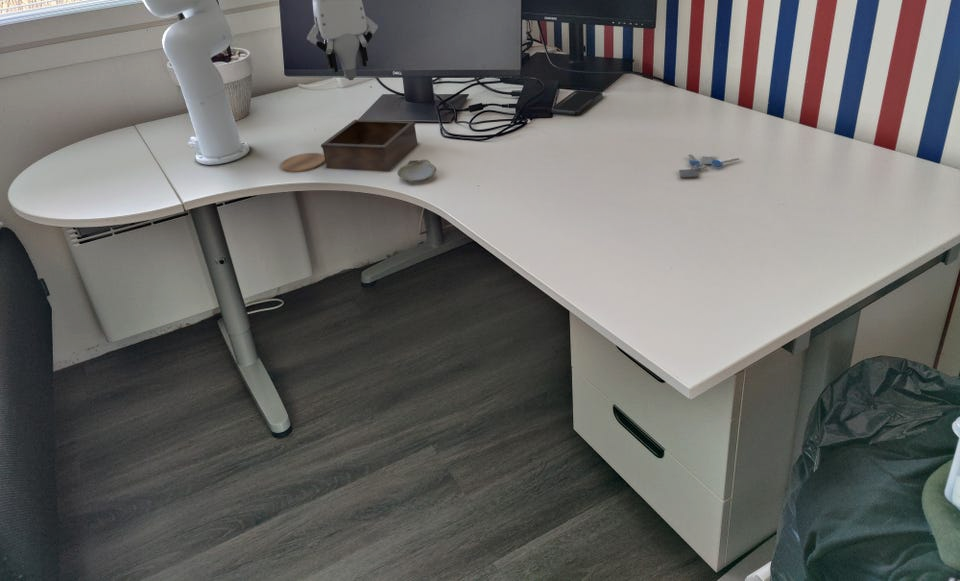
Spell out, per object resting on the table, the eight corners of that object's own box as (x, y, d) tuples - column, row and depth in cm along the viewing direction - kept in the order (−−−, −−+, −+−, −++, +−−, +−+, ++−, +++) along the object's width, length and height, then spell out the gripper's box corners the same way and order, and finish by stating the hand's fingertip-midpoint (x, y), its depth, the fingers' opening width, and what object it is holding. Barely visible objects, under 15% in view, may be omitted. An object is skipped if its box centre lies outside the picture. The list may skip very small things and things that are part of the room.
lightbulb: (368, 80, 159) (359, 28, 153) (340, 86, 157) (330, 33, 151) (361, 74, 164) (352, 22, 158) (334, 79, 162) (324, 27, 156)
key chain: (688, 181, 142) (688, 177, 141) (658, 169, 148) (658, 165, 147) (740, 161, 147) (740, 157, 147) (709, 150, 153) (709, 146, 153)
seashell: (400, 192, 155) (434, 184, 152) (393, 181, 153) (428, 172, 150) (408, 170, 161) (441, 162, 158) (402, 159, 159) (435, 150, 156)
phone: (549, 108, 181) (576, 89, 192) (550, 113, 182) (576, 94, 192) (579, 111, 177) (604, 92, 188) (579, 116, 178) (604, 96, 188)
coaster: (273, 170, 168) (272, 169, 168) (296, 153, 176) (296, 152, 175) (311, 173, 164) (310, 171, 164) (333, 155, 172) (332, 154, 172)
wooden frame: (325, 168, 166) (320, 144, 163) (358, 141, 178) (354, 119, 175) (388, 171, 161) (384, 147, 158) (418, 144, 173) (415, 121, 170)
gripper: (368, -30, 155) (381, 56, 165) (287, -18, 149) (305, 72, 159) (379, -26, 149) (392, 64, 159) (296, -12, 143) (314, 80, 153)
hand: (349, 67), depth 159 cm, fingers closed on lightbulb, 5 cm apart
